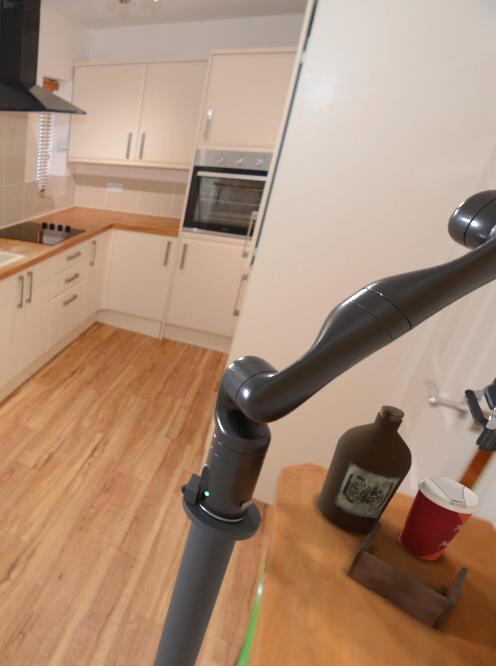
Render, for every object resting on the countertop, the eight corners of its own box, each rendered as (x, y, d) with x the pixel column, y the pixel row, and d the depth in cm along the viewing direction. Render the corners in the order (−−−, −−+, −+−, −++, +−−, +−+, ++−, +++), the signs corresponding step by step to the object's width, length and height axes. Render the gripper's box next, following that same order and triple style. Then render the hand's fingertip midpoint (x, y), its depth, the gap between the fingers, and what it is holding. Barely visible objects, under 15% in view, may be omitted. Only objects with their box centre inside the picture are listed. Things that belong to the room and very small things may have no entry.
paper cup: (453, 572, 79) (491, 514, 73) (398, 555, 82) (430, 498, 76) (436, 538, 85) (470, 481, 79) (385, 523, 88) (414, 468, 82)
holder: (346, 573, 79) (358, 550, 76) (365, 544, 84) (377, 521, 82) (437, 630, 70) (454, 605, 68) (452, 593, 76) (468, 569, 73)
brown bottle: (311, 486, 97) (351, 387, 86) (373, 505, 92) (424, 403, 82) (315, 522, 89) (360, 417, 78) (383, 545, 84) (442, 437, 73)
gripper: (488, 346, 84) (436, 427, 85) (600, 379, 74) (541, 470, 75) (483, 358, 89) (435, 434, 90) (588, 390, 79) (533, 475, 80)
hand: (483, 450), depth 82 cm, fingers closed
